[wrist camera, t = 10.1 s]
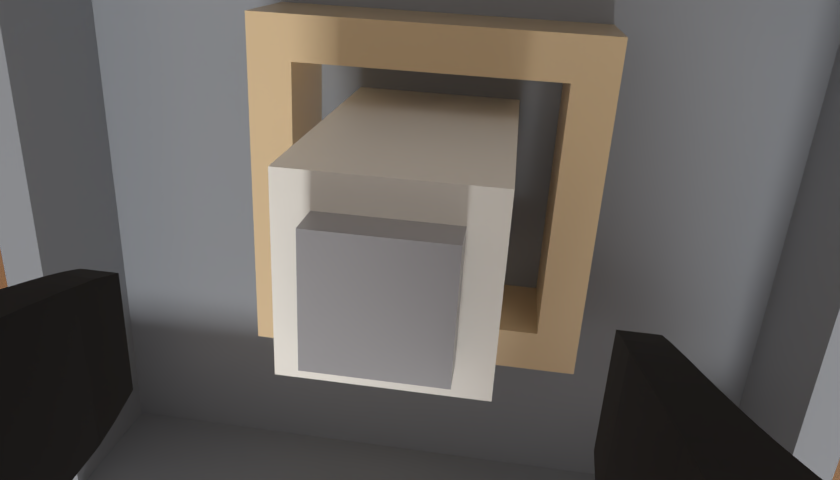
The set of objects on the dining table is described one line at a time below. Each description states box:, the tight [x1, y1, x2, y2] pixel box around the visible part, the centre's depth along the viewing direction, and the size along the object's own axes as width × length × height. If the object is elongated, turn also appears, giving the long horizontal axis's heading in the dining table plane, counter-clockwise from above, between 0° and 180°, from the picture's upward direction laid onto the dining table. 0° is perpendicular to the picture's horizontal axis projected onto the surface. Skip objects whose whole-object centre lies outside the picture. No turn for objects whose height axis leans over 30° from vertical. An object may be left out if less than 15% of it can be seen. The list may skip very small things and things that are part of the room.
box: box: [0, 0, 840, 480], centre depth 17 cm, size 20×20×4 cm
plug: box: [268, 87, 520, 402], centre depth 15 cm, size 4×4×8 cm
